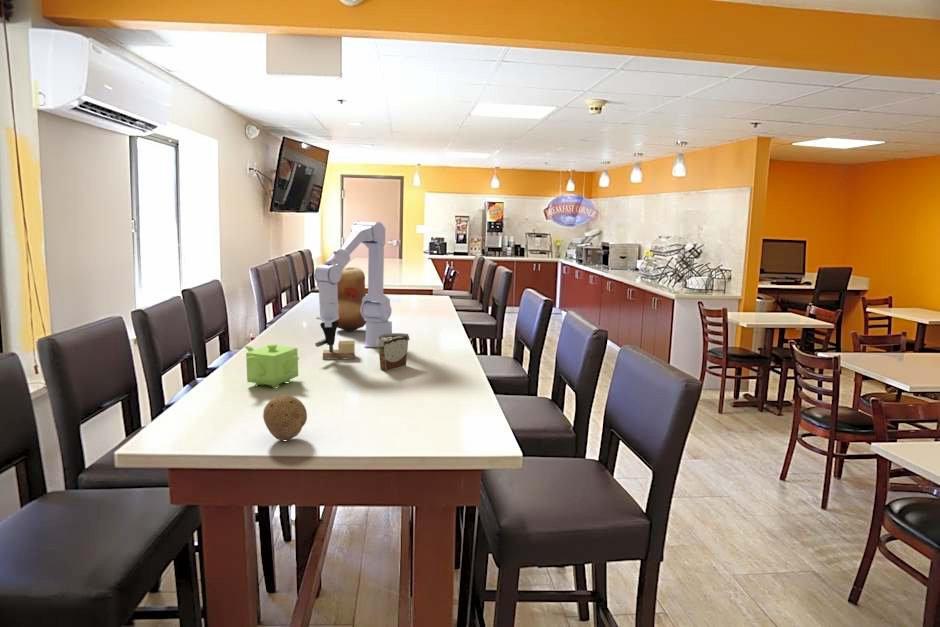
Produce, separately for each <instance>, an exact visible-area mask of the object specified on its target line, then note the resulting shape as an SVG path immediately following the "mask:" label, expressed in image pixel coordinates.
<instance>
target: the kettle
mask: <svg viewBox="0 0 940 627" xmlns="http://www.w3.org/2000/svg"><path fill="white" fill-rule="evenodd" d="M243 347H244V348H245V349H246V350H247V351H248V352H246V353H245V354H246V355H245V356H246V357H245V358H246V377H247V378H246V380H247V382H248V383H255V384H254V386H255V385H262V386H264V385H266V386H267V385H268V386H271V387H273V388H276V387H280V384H282V383H283V382H290V381H291V382H292V379H295V378H297V377H298V376H299V359H300V357H299V355H298V348H297V347H292V346H291V347H290V346H283V345H278V344H276V343H269V344H267V345H266V346H263V347H260V348H257V349H254V348H253V347H252V346H249V345H244V346H243ZM247 382H246V383H247ZM283 384H284V383H283ZM271 387H270V388H271ZM273 388H272V389H273Z"/></svg>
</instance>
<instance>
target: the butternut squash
mask: <svg viewBox="0 0 940 627" xmlns="http://www.w3.org/2000/svg"><path fill="white" fill-rule="evenodd" d="M337 292H338V315H339V319H338V320H336V321H339V325H338V327H337V329H341V330H343V331H346V332H355V331H357V330H358V329H360V328H363V327H364V326H366V321H365V320H364V318H363V317H362V315H361V312H360V309H361V305H362V298H363V297H364V296H366V295H367V291H366V276H365V272H364V271H363V270H362V269H360V267H356V266H353V267H352V266H347V267H346V266H345V267H344V269H343V270H342V274H341V279H340V281H339V282H338V283H337Z"/></svg>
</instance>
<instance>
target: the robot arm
mask: <svg viewBox="0 0 940 627" xmlns="http://www.w3.org/2000/svg"><path fill="white" fill-rule="evenodd" d="M360 244H363V245H364V246H365V247H366V248H367V249H368V262H367V264H368V266H367V267H368V268H367V269H368V270H367V271H368V272H367V273H368V274H367V276H368V277H367V293H366V296H364V297H363V298H362V305H361V309H360V312H361V315H362V317H363V318H364V320H365V321H366V324H365V341H364V348H379V347H378V345H376V342H377V338H378V336H380V335H383V334H390V333H393V329H392V328H393V324H392V323H393V321H392V320H389V319H390V318H391V316H392V307H391V299H390V298H389V297H388V296H387V295H386V294H385V293H384V276H385V275H384V274H385V273H384V270H385V269H384V265H385V263H384V262H385V260H384V259H385V246H386V227H385V226H384V224H383V222H381V221H362V220H361V221H360V220H356V221H355V222H354V223H353V224H352V225H351V226H350V234H349V235H348V236H347V238H346V240H345V241H344V243H343V244H342V246H341V248H335V249H333V250H332V253H331V254H330V256H328V258H327V259H326V260H325V262H324V263H323V264H319V265H318V266H317V267H316V268H315V269H314V274H313V278H314V280H315V282H316V287H317V289H318V300H319V315H317V316H316V317H315V318H316V320H320V321H321V322H320V324H319V326H320V328H321V330H322V331H323V334H324V339H326V345H327V346H329V345H333V346H334V345H335V342H336V341H335V340H336V331H337V329H338V325H339V321H336V320H338V319H339V315H338V292H337V283H338V282H339V281H340V279H341V274H342V270H343V269H344V268H346V266H347V265H348V264H349V262H350V261H351V254H352V253H353V252H354V251H355V250H356V248H358V247H359V246H360Z"/></svg>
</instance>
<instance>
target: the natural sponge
mask: <svg viewBox="0 0 940 627" xmlns="http://www.w3.org/2000/svg"><path fill="white" fill-rule="evenodd" d="M262 418H263V421H264V425H265V427H266V428H267V430H268V431H269V433H270V434H271V435H272V436H273V437H274V438H275V439H277V440H278V439H279V440H278V441H281V440H288V441H290V440H292V439H293V438H295V437H297V436H298V435H299V434H300V433H301V431H302V429H303V427H304V426H305V425H306V423H307V419H308V412H307V408H306V407H305V404H304V403H303V402H302V401H301V400H300V399H298V398H297V397H295V396H293V395H290V394H280V395H277V396H276V397H273V398H272V399H271V400H269V402H267V404H266V405H265V406H264V409H263V413H262Z"/></svg>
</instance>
